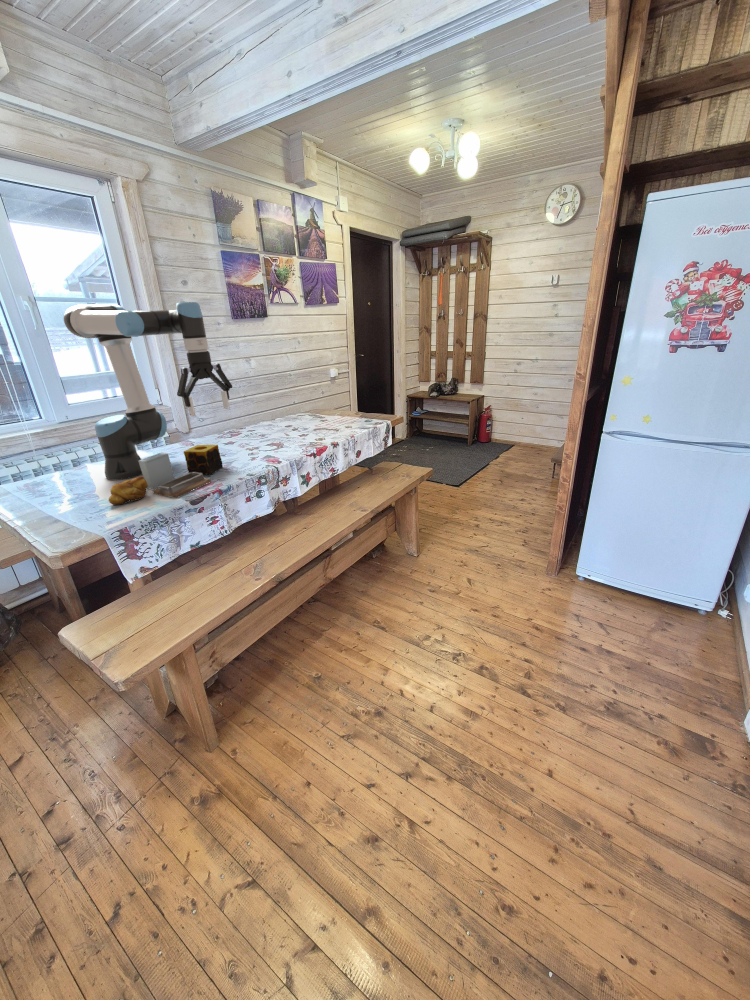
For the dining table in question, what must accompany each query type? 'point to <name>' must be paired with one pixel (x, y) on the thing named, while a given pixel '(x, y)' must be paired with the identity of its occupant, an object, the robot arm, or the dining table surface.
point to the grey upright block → (156, 470)
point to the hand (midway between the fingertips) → (210, 412)
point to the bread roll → (128, 491)
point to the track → (181, 485)
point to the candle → (203, 459)
